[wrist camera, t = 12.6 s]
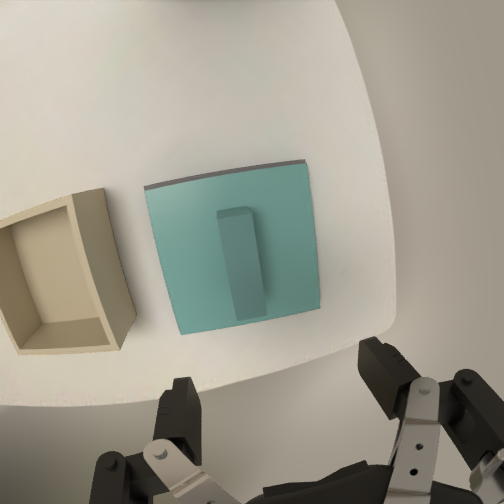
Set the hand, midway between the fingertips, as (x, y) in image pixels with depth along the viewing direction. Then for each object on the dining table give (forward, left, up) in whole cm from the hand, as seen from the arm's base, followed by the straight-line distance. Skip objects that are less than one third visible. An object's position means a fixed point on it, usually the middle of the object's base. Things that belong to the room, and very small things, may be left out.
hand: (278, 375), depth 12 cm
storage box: (+22, -2, -22) cm, 31 cm away
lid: (0, 0, -20) cm, 20 cm away
